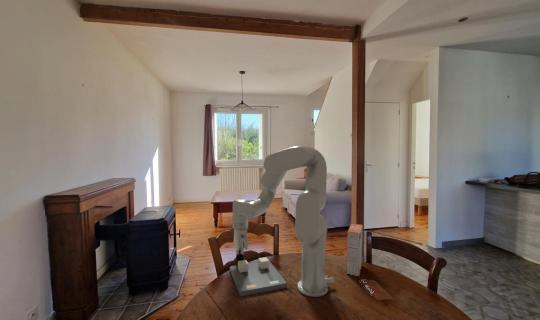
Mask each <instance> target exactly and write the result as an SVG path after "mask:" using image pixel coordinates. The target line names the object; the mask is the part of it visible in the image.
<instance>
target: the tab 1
mask: <svg viewBox="0 0 540 320" xmlns="http://www.w3.org/2000/svg"><path fill="white" fill-rule="evenodd" d="M249 264H250V263H249V262H248V261H247V260H246V259H243V261H238V263H237V265H238V270H239V272H247V271H248V268H249Z"/></svg>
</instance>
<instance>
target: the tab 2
mask: <svg viewBox="0 0 540 320" xmlns="http://www.w3.org/2000/svg"><path fill="white" fill-rule="evenodd" d="M269 261H270V260H269V259H268V258H267V256H265V257H259V258H258V260H257V262H258V266H259V267H260V269H266V268H269Z"/></svg>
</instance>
